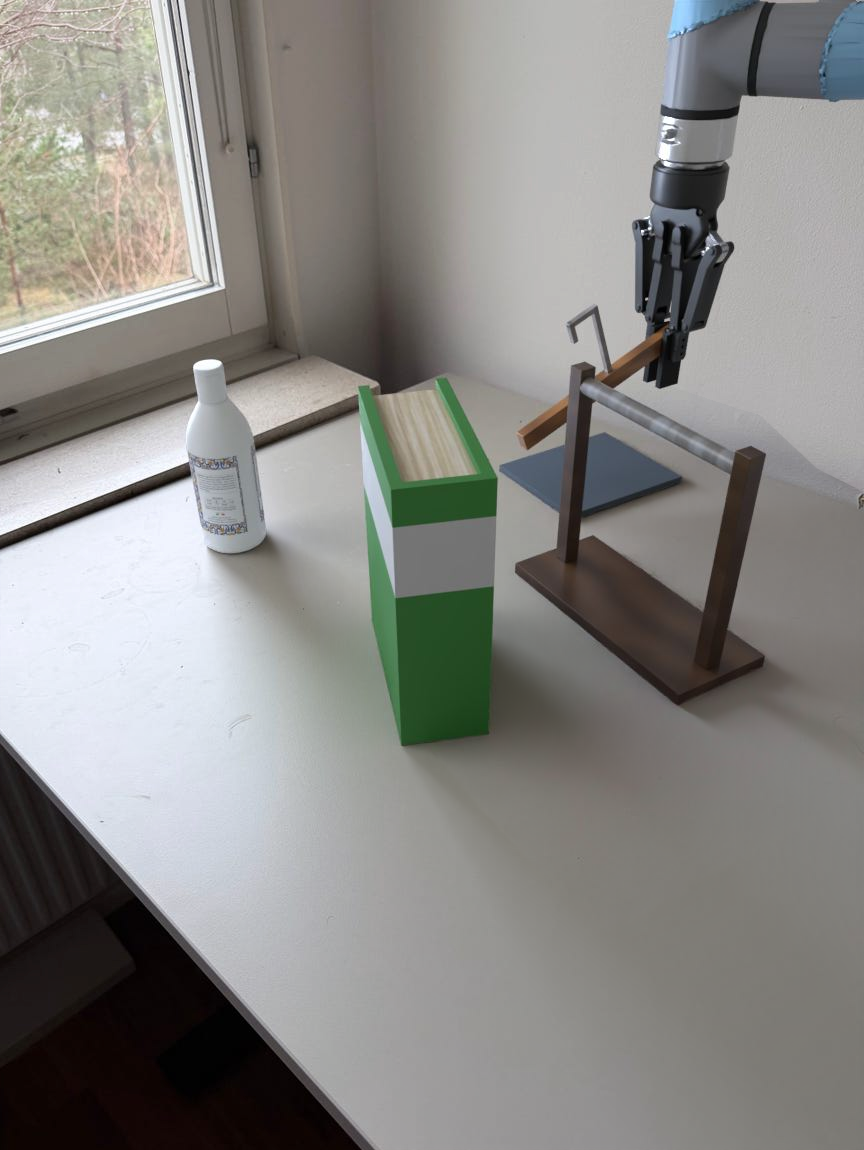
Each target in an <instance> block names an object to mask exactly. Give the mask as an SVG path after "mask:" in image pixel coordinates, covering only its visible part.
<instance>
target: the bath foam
mask: <svg viewBox="0 0 864 1150" xmlns="http://www.w3.org/2000/svg"><path fill="white" fill-rule="evenodd" d="M192 368H193V369H192V370H193V374H194V375H193V376H194V382H195V388H196V393H197V398H198V401H197V403H196V405H195V407H194V409H193V411H192V413H191V415H190V418H189V421H188V423H187V427H186V434H185V444H186V452H187V458H188V463H189V469H190V475H191V481H192V486H193V490H194V496H195V501H196V506H197V507H196V508H197V513H198V518H199V523H200V524H199V525H200V527H201V534H202V538H203V542H204V544H205V545H206V546H207V547H208V548H209V549H211V550H213V551H215V552H218V553H221V554H239V553H244V552H248V551H251V550H253V549H254V548H256V547H258V546H259V545H261V543H263V541H264V539H266V535H267V526H266V519H265V510H264V503H263V495H262V489H261V481H260V473H259V465H258V459H257V451H256V445H255V443H256V442H255V438H254V434H253V430H252V427H251V425H250V423H249V421H248V420H247V417H245V414H243V412H242V411H241V410H240V408H239V407H238V406H237V404H235V402H233V401H232V400H231V399H230V398H229V396H228V390H227V382H226V376H225V375H226V374H225V368H224V365H223V362H222V361H221V360H218V359H203V360H199V361H197V362H195V363H194V364H193V367H192Z"/></svg>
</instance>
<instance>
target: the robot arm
mask: <svg viewBox="0 0 864 1150" xmlns="http://www.w3.org/2000/svg"><path fill="white" fill-rule="evenodd" d="M666 40H667V47H666V57H665V65H664V68H665V69H664V77H663V86H662V95H661V103H660V110H659V111H660V112H659V117H658V127H657V134H656V142H655V150H654V151H655V152H654V155H655V156H656V157H657V159H658V160H657V161H655V163H654V164H653V166H652V173H651V178H650V179H651V181H650V188H649V199H650V201H651V203H653V204H654V205H653V206H652V208H651V210H650V213H649V215H647V216H646V217H642V218H639V219H635V220H633V221H632V223H631V229H632V235H633V238H634V243H635V245H634V246H635V249H634V252H635V253H634V254H635V257H634V259H635V260H634V261H635V263H634V267H635V268H634V310H635V312H636V313H637V314H642V315H643V316H644V320H645V322H646V328H645V329H646V330H645V340H646V339H647V338H649V337H650V336H652V335H653V334H654V333H656V332H657V331H659V330H660V329H661V328H663V327H664V326H666V325H667V324H668V323H670V324H669V327H668V328H665V329H664V331H663V334H662V342H661V350H660V356H658V357H657V358H655V359H654V360H653V361H651V362H650V363H649V364H647V365H646V366H644V367H643V368H644V370H643V377H642V381H643V382H645V383H647V384H648V383H651V382H655V385H654V387H655V388H657V389H659V390H661V389H664V388H667V387H672V386H675V385H678V383H679V377H680V371H681V364H682V360H684V359H685V358H686V356H687V349H688V348H687V347H688V343H689V336H690V333H692V332H695V331H699V330H702V329H705V328H706V327H707V324H708V321H709V317H710V314H711V310H712V307H713V305H714V301H715V298H716V294H717V291H718V288H719V284H720V281H721V279H722V275H723V271H724V269H725V265H726V263H727V262H728V260H729V259H730V257H732V255H733V253H734V251H735V244H734V242H733V241H731V240H729V241H724V240H723V238H722V237H721V236H720V234H719V233H718V231H719V230H718V229H719V222H718V215H717V214H718V213H717V212H718V209H719V208H720V206H721V204H722V203H723V202H724V200H725V197H726V194H727V193H726V192H727V186H728V181H729V174H730V169H731V167H730V166H729V163H728V162H727V160H729V159H730V158H732V156H733V152H734V145H735V139H736V138H735V137H736V132H737V125H738V119H739V113H740V107H741V100H742V97H744V96H745V97H746V96H747V97H768V98H769V97H771V98H772V97H774V98H789V99H805V100H808V99H809V100H822V101H823V100H824V101H825V100H826V101H828V102H830V103H837V102H839V101H864V1H859V2H857V1H856V0H819V1H818V2H816V1H815V2H814V1H813V2H811V1H810V2H769V1H766V0H674V4H673V10H672V16H671V21H670V28H669V33H667V37H666ZM668 319H669V320H668ZM665 320H666V321H665ZM645 340H644V341H645Z"/></svg>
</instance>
